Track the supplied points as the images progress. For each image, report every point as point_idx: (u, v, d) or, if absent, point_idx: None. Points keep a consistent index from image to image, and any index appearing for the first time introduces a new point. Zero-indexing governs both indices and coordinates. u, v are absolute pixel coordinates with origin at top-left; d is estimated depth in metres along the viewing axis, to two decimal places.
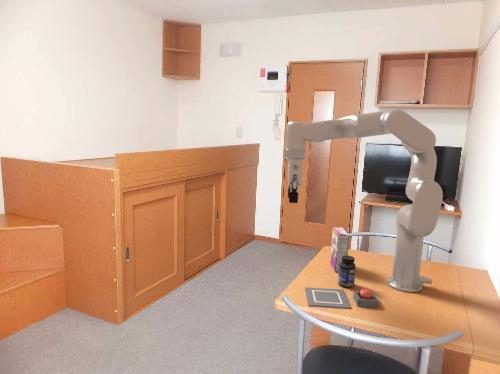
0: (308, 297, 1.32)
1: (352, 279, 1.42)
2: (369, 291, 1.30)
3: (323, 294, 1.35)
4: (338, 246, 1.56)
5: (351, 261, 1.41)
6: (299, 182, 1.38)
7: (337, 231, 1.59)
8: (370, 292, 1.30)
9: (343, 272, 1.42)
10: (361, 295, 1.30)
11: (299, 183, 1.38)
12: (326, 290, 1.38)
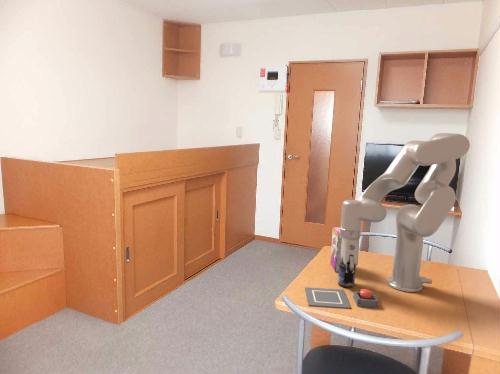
0: (308, 297, 1.32)
1: None
2: (369, 291, 1.30)
3: (323, 294, 1.35)
4: (338, 246, 1.56)
5: None
6: (355, 262, 1.38)
7: (337, 231, 1.59)
8: (370, 292, 1.30)
9: (343, 272, 1.42)
10: (361, 295, 1.30)
11: (355, 263, 1.38)
12: (326, 290, 1.38)
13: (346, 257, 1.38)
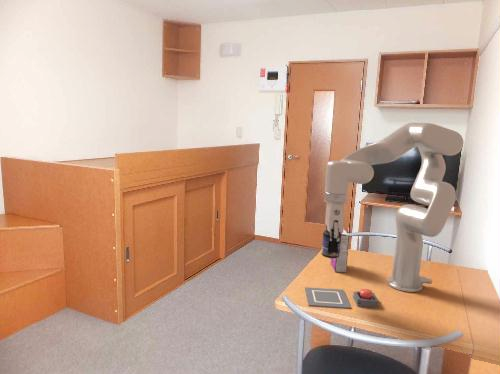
0: (308, 297, 1.32)
1: None
2: (369, 291, 1.30)
3: (323, 294, 1.35)
4: None
5: None
6: (340, 229, 1.24)
7: None
8: (370, 292, 1.30)
9: (327, 240, 1.28)
10: (361, 295, 1.30)
11: (340, 230, 1.24)
12: (326, 290, 1.38)
13: (330, 223, 1.24)
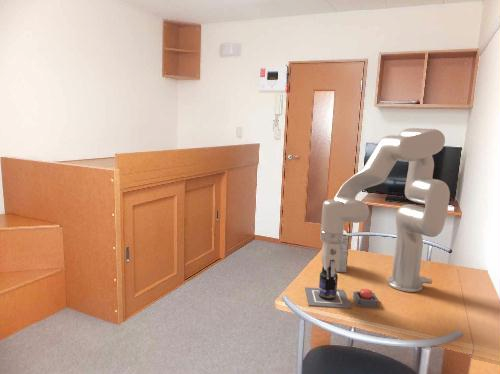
0: (308, 297, 1.32)
1: (334, 290, 1.30)
2: (369, 291, 1.30)
3: None
4: None
5: None
6: (337, 268, 1.26)
7: None
8: (370, 292, 1.30)
9: (324, 282, 1.30)
10: (361, 295, 1.30)
11: (337, 269, 1.26)
12: None
13: (326, 263, 1.26)
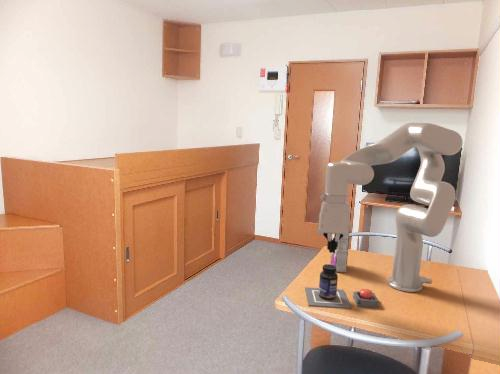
0: (308, 297, 1.32)
1: (334, 290, 1.30)
2: (369, 291, 1.30)
3: None
4: (338, 246, 1.56)
5: (332, 271, 1.29)
6: (319, 227, 1.27)
7: None
8: (370, 292, 1.30)
9: (324, 283, 1.30)
10: (361, 295, 1.30)
11: (319, 228, 1.27)
12: None
13: None
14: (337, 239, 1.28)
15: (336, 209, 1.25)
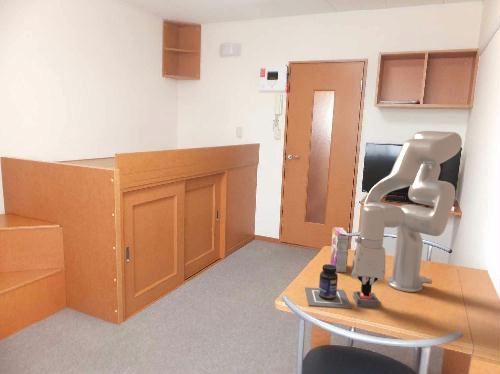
0: (308, 297, 1.32)
1: (334, 290, 1.30)
2: (369, 294, 1.30)
3: None
4: (338, 246, 1.56)
5: (332, 271, 1.29)
6: (354, 270, 1.27)
7: (337, 231, 1.59)
8: (370, 295, 1.30)
9: (324, 283, 1.30)
10: (361, 298, 1.30)
11: (354, 271, 1.27)
12: None
13: None
14: (372, 282, 1.28)
15: (372, 254, 1.25)
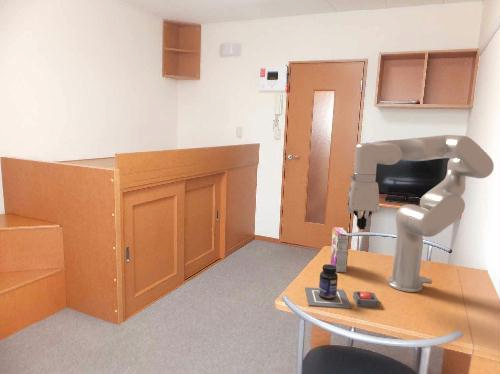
0: (308, 297, 1.32)
1: (334, 290, 1.30)
2: (369, 294, 1.30)
3: None
4: (338, 246, 1.56)
5: (332, 271, 1.29)
6: (350, 205, 1.34)
7: (337, 231, 1.59)
8: (370, 295, 1.30)
9: (324, 283, 1.30)
10: (361, 298, 1.30)
11: (350, 206, 1.34)
12: None
13: None
14: (366, 216, 1.35)
15: (366, 188, 1.32)
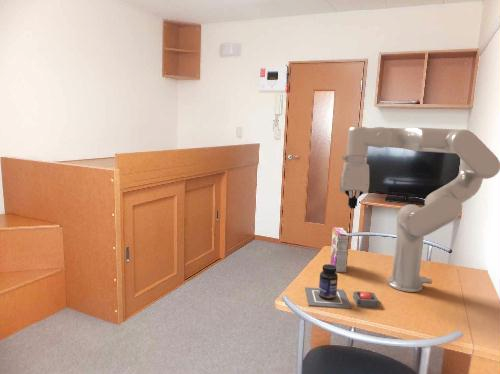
0: (308, 297, 1.32)
1: (334, 290, 1.30)
2: (369, 294, 1.30)
3: None
4: (338, 246, 1.56)
5: (332, 271, 1.29)
6: (341, 185, 1.42)
7: (337, 231, 1.59)
8: (370, 295, 1.30)
9: (324, 283, 1.30)
10: (361, 298, 1.30)
11: (341, 186, 1.42)
12: None
13: None
14: (357, 196, 1.43)
15: (357, 169, 1.40)
